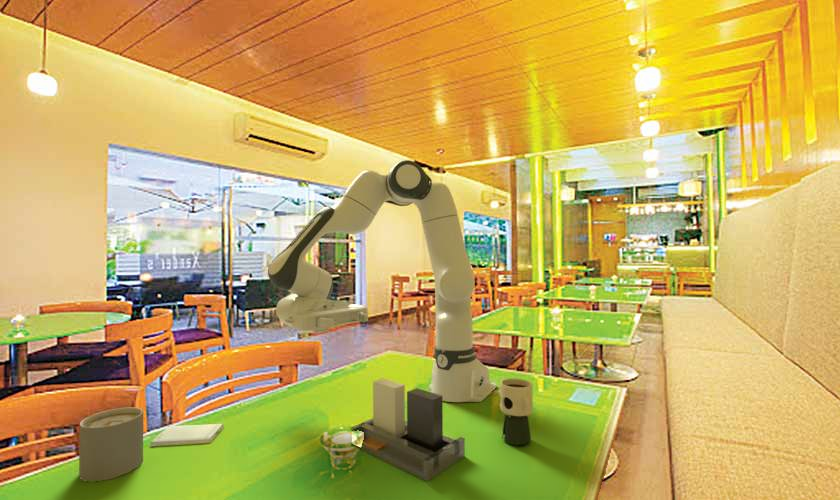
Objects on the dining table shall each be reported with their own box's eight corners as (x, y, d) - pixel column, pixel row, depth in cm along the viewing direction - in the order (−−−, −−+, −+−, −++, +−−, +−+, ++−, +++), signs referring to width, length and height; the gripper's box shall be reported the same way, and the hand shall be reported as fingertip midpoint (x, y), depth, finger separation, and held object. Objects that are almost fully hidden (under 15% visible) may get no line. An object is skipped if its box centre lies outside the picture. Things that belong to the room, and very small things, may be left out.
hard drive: (150, 441, 86) (210, 437, 88) (169, 425, 94) (223, 422, 96) (150, 449, 86) (210, 445, 88) (169, 432, 94) (223, 429, 96)
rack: (390, 426, 96) (389, 371, 96) (464, 456, 81) (464, 392, 82) (351, 444, 87) (351, 384, 87) (427, 481, 72) (427, 409, 72)
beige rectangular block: (382, 430, 91) (382, 378, 91) (404, 439, 86) (404, 384, 86) (373, 434, 89) (373, 381, 89) (395, 444, 84) (395, 388, 84)
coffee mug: (132, 476, 75) (132, 423, 75) (67, 486, 71) (68, 431, 72) (155, 444, 87) (155, 399, 87) (101, 451, 84) (101, 404, 84)
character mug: (491, 432, 92) (491, 376, 92) (519, 428, 94) (518, 374, 94) (513, 455, 82) (512, 392, 82) (543, 451, 83) (543, 389, 84)
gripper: (281, 307, 96) (314, 312, 87) (348, 299, 112) (381, 303, 103) (281, 333, 96) (314, 341, 87) (348, 322, 112) (381, 327, 102)
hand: (351, 320), depth 95 cm, fingers open, 8 cm apart
